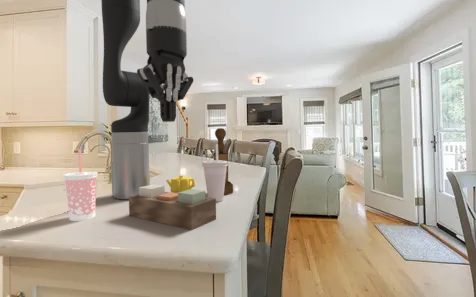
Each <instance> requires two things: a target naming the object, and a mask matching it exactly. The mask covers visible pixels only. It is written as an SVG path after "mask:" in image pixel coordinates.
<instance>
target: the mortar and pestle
mask: <svg viewBox="0 0 476 297" xmlns="http://www.w3.org/2000/svg"><path fill="white" fill-rule="evenodd" d="M214 136H215V137H216V140H217V144H218V160H223V161H228V162H229V153H228V152H224V151H225V148H226V147H225V146H226V144H225V143H224V139H225V137H226V136H227V131H226V130H225V129H224V128H222V127H220V128H217V129H216V130H215V131H214ZM213 160H216V152H214V153H213ZM233 193H234V184H233V183H231V181H230V180H229V165H228V166H227V167H226V178H225V187H224V196H226V195H227V196H228V195H231V194H233Z"/></svg>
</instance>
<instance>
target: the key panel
mask: <svg viewBox="0 0 476 297" xmlns="http://www.w3.org/2000/svg"><path fill="white" fill-rule="evenodd" d="M170 192H171V191H165V194H166V193H170ZM216 203H217V202H216V199H214V198H208V196H205V201H202V202H199V203H196V204H186V203H180V202H178V199H176V200H172V201H168V200H161V199H158V196H156V197H152V198H149V197H143V196H139V194H137V195H133V196H129V199H128V212H129V217H134V218H137V219H143V220H147V221H152V222H155V223H161V224H165V225H170V226H172V227H173V226H174V227H178V228H183V229H187V230H194V229H197V228H199V227H201V226H204V225H206V224H208V223H210V222H212V221H214V220H217V204H216Z"/></svg>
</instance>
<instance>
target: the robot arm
mask: <svg viewBox="0 0 476 297" xmlns="http://www.w3.org/2000/svg"><path fill="white" fill-rule="evenodd" d="M100 1H101V16H102V17H101V18H102V19H101V20H102V30H103V31H102V32H103V33H102V34H103V62H102V93H103V94H102V95H103V98H104V101H105V103H106V104H107V105H108V106H111V107H124V108H125V107H126V108H127V107H128V108H130V111H129V114H128V115H125V117H122V118H120V119H117V120H114V121H112V122H111V124H110V129H111V151H112V152H111V154H112V155H111V156H112V160H111V162H110V169H111V170H110V171H111V195H112V196H113V197H114V199H117V200H118V199H119V200H129V196H133V195H137V194H139V187H143V186H148V185H151V179H150V176H151V175H150V149H149V147H150V146H149V122H150V98H152V99H156V100H158V102H159V106H160V107H159V111H160V113H159V114H160V116H159V117H160V118H161V121H162V122H166V123H170V122H171V123H172V122H173V123H174V122H175V121H176V118H177V102H178V101H181V100H184V99H185V97H186V95H187V93H188V91H189V90H190V88H191V86H192V84H193V83H194V78H193V77H192V76H189V75H188V74H187V73H186V66H185V63H184V60H185V58H186V57H187V54H188V53H187V52H188V51H187V50H188V48H187V17H186V10H185V9H186V8H185V7H186V6H185V5H186V4H185V3H186V2H185V1H186V0H146V11H145V35H146V36H145V37H146V38H145V39H146V40H145V43H146V54H147V55H148V58H147V61H146V65H145V66H144V67H141V68H137V69H136V72H133V71H128V70H127V71H126V70H121V63H122V56H123V53H124V50H125V49H126V46H127V45H128V43H129V42H130V41H131V39H132V38H133V36H134V35H135V34H136V32H137V31H138V28H139V26H140V23H141V5H140V3H141V2H140V1H141V0H100Z"/></svg>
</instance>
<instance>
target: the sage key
mask: <svg viewBox="0 0 476 297" xmlns="http://www.w3.org/2000/svg"><path fill="white" fill-rule="evenodd" d="M205 197H206V190H200V189H193V188H192V189H190V190H186V191H182V192H178V202H180V203H186V204H196V203H199V202H202V201H205Z"/></svg>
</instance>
